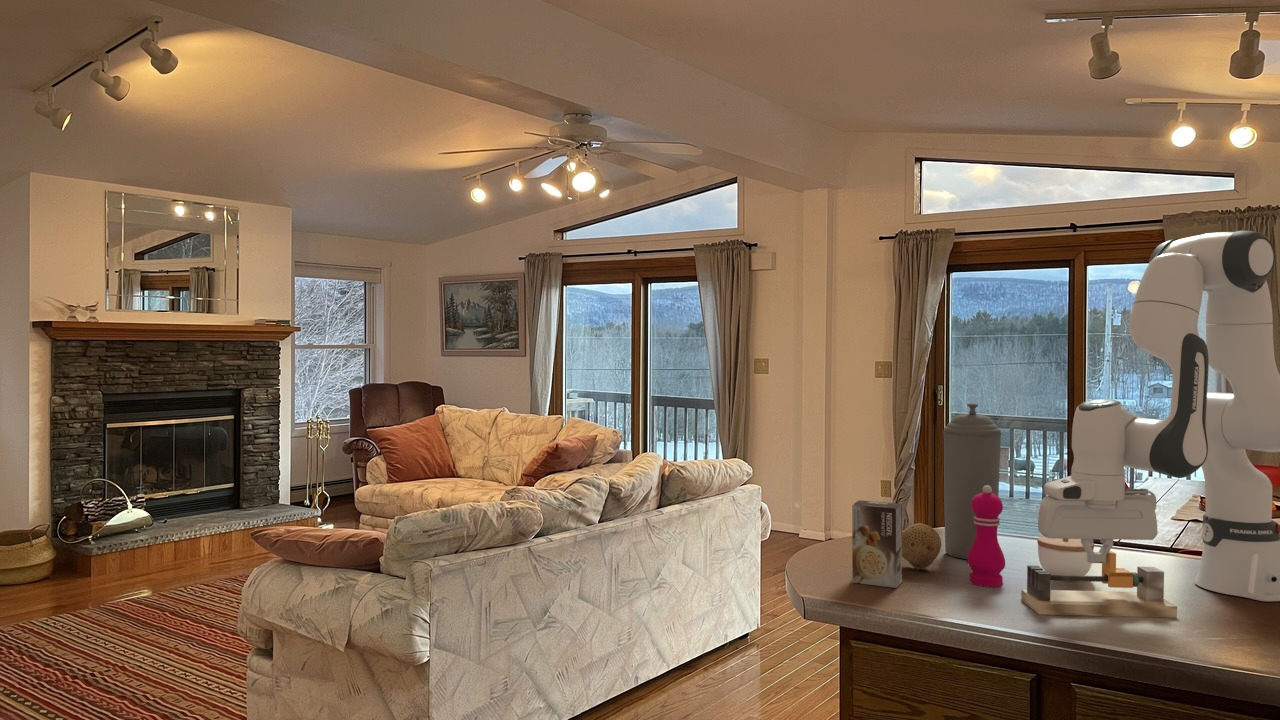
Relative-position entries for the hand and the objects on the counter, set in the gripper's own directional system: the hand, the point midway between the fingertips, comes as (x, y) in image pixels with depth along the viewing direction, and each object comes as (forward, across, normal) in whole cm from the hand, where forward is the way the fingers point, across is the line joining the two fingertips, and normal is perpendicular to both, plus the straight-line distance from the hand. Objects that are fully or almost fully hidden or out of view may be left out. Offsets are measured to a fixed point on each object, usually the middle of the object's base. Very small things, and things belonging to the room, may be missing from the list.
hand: (1096, 562), depth 166 cm
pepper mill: (+9, +15, -16) cm, 23 cm away
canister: (+9, +11, -40) cm, 42 cm away
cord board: (+8, 0, 0) cm, 9 cm away
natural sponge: (+9, +26, -26) cm, 38 cm away
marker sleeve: (+4, -4, 0) cm, 5 cm away
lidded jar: (+9, -3, -22) cm, 24 cm away
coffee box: (+9, +37, -15) cm, 41 cm away
